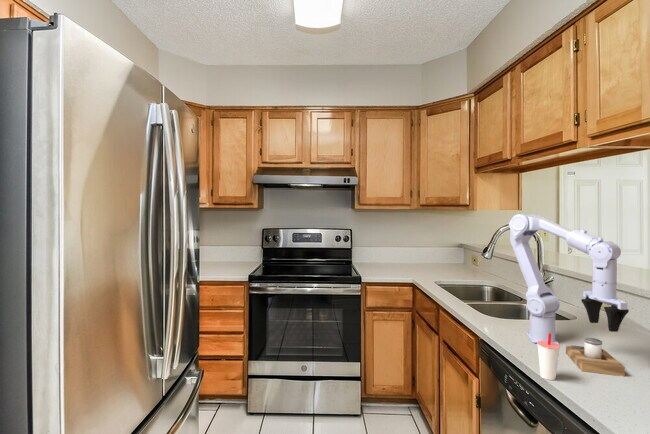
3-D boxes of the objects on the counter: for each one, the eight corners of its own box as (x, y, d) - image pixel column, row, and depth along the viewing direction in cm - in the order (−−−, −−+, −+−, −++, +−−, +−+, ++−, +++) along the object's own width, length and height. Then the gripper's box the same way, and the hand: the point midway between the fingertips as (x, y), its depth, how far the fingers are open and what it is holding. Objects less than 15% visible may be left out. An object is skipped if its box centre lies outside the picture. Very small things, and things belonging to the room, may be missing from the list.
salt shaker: (581, 360, 106) (581, 336, 106) (597, 361, 105) (598, 338, 105) (587, 366, 102) (588, 342, 102) (604, 367, 101) (605, 343, 101)
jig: (565, 353, 112) (566, 343, 112) (603, 357, 109) (603, 347, 109) (581, 371, 99) (581, 360, 99) (624, 376, 96) (624, 365, 96)
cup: (564, 381, 93) (565, 336, 93) (545, 382, 93) (546, 336, 92) (550, 372, 99) (550, 329, 98) (531, 372, 98) (532, 329, 98)
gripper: (574, 277, 114) (573, 319, 114) (609, 287, 99) (608, 335, 99) (596, 277, 114) (595, 319, 114) (635, 287, 99) (634, 335, 99)
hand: (603, 326), depth 107 cm, fingers open, 7 cm apart
